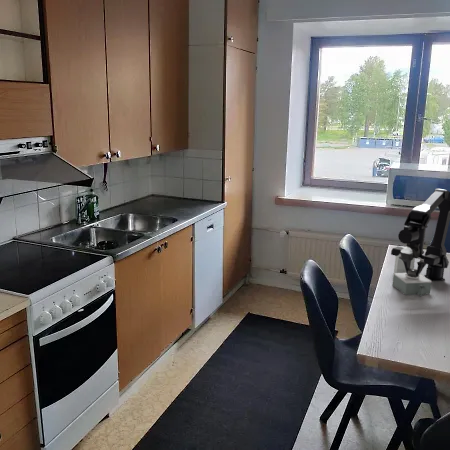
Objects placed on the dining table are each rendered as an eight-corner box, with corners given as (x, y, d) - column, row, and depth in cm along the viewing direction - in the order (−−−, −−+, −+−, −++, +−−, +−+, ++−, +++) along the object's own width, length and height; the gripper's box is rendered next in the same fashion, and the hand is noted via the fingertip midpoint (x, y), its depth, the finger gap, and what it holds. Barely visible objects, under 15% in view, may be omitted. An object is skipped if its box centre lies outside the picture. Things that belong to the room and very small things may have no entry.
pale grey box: (415, 284, 206) (417, 272, 205) (434, 296, 193) (435, 283, 191) (392, 285, 204) (393, 273, 203) (409, 297, 191) (410, 285, 190)
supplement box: (413, 278, 213) (416, 251, 210) (395, 276, 215) (398, 250, 212) (410, 272, 220) (413, 246, 217) (393, 271, 222) (396, 245, 219)
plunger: (414, 284, 204) (417, 266, 202) (425, 291, 196) (427, 273, 194) (396, 284, 203) (398, 267, 201) (406, 292, 195) (408, 273, 193)
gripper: (385, 237, 196) (382, 273, 200) (429, 248, 183) (424, 285, 186) (399, 233, 203) (395, 267, 207) (442, 243, 190) (437, 279, 193)
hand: (412, 274), depth 198 cm, fingers closed on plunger, 4 cm apart
